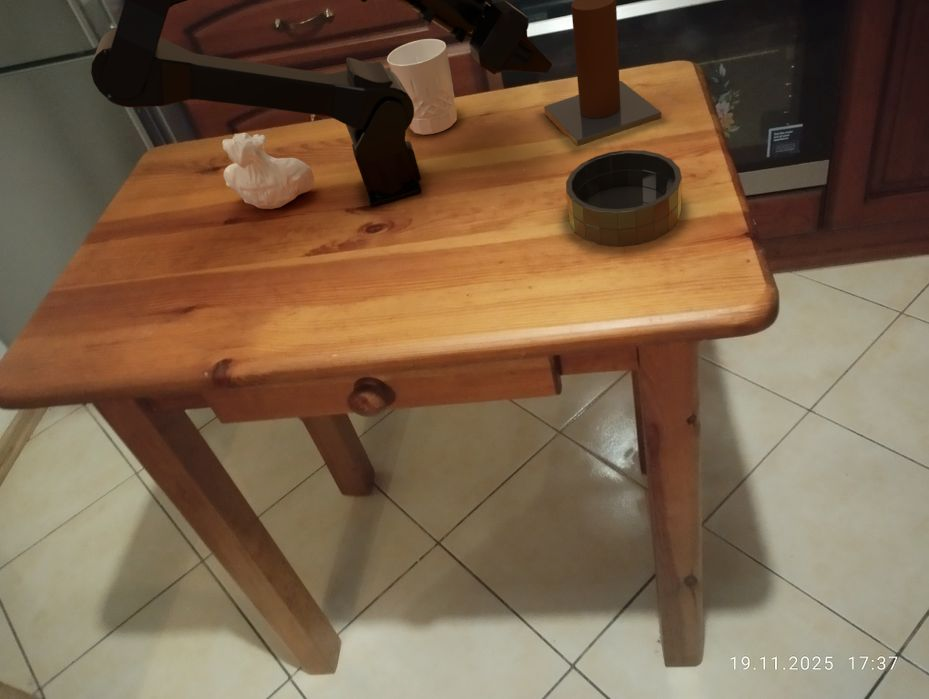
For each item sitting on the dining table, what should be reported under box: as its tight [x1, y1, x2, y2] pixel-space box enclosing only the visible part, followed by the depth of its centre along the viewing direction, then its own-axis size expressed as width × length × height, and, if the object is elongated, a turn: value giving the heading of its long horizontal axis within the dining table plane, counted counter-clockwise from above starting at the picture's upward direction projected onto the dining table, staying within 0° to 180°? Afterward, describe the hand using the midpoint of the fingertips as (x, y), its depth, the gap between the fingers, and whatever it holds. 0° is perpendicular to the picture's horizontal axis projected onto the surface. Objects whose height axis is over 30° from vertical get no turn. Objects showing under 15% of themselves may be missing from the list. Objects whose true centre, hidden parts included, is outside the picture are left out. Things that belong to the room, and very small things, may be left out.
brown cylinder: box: [570, 0, 620, 119], centre depth 81 cm, size 5×5×13 cm
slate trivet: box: [543, 80, 662, 147], centre depth 86 cm, size 11×11×1 cm
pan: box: [565, 149, 683, 247], centre depth 69 cm, size 11×11×4 cm
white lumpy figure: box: [221, 132, 315, 210], centre depth 84 cm, size 12×8×11 cm
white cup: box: [386, 38, 458, 136], centre depth 91 cm, size 8×8×10 cm
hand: (534, 55), depth 79 cm, fingers open, 9 cm apart
